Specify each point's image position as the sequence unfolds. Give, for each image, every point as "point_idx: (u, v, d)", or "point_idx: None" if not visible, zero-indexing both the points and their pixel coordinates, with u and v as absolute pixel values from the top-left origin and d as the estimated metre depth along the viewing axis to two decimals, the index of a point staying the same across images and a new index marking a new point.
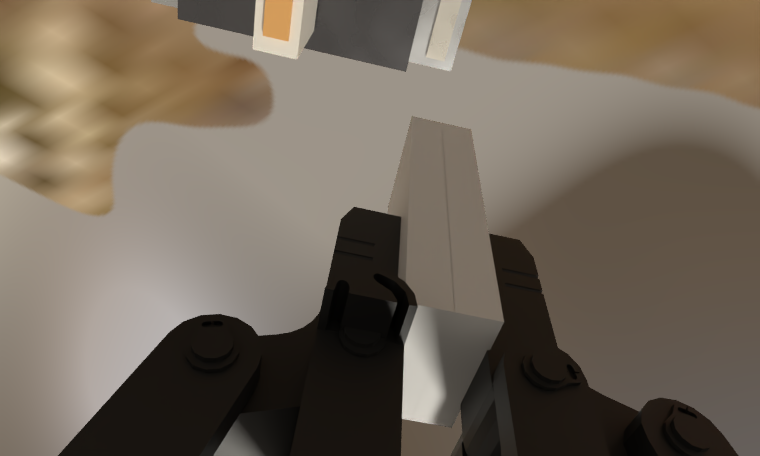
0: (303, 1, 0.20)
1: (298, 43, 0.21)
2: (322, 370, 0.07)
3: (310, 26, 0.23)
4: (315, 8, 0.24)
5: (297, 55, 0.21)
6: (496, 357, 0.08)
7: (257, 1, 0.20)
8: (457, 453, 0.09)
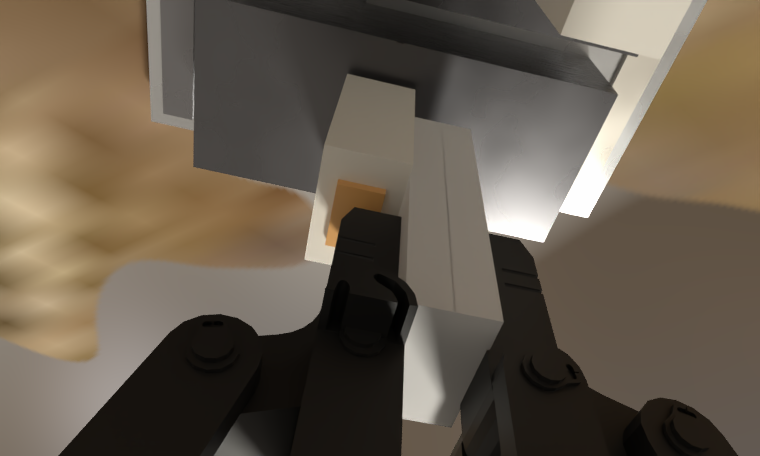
0: (403, 194, 0.11)
1: None
2: (323, 370, 0.07)
3: None
4: None
5: None
6: (496, 357, 0.08)
7: (319, 192, 0.11)
8: (456, 453, 0.09)
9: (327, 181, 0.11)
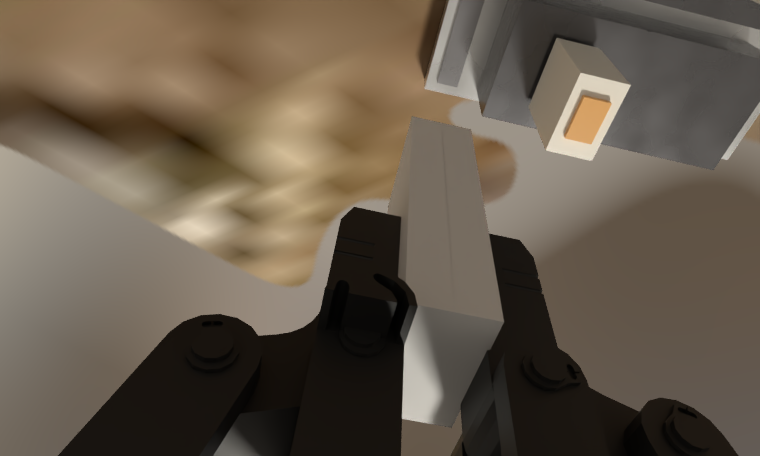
0: (619, 104, 0.19)
1: (598, 145, 0.19)
2: (322, 370, 0.07)
3: None
4: None
5: (592, 156, 0.20)
6: (496, 357, 0.08)
7: (568, 104, 0.19)
8: (457, 453, 0.09)
9: (576, 96, 0.18)
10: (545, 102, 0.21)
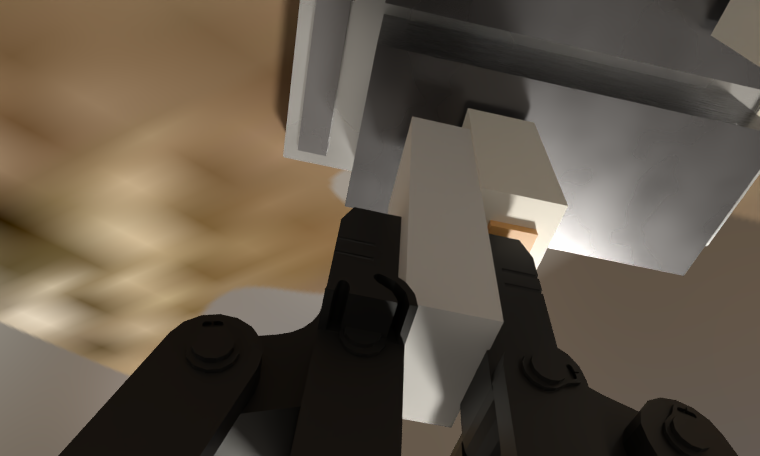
0: (551, 233, 0.11)
1: None
2: (322, 370, 0.07)
3: None
4: None
5: None
6: (496, 357, 0.08)
7: None
8: (457, 453, 0.09)
9: None
10: None
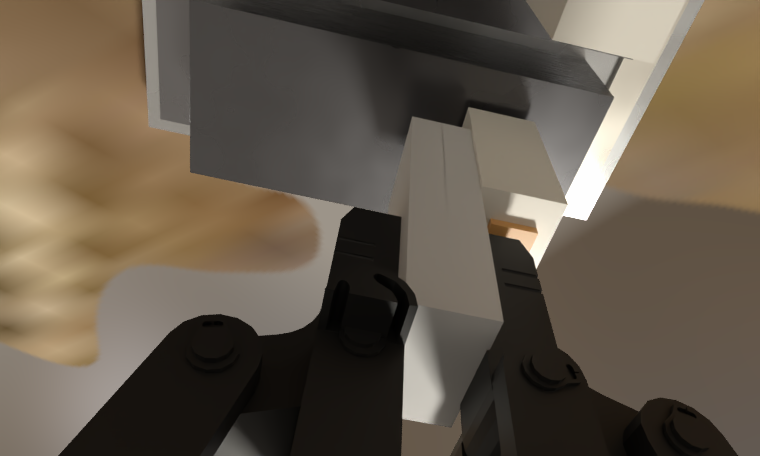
0: (552, 232, 0.11)
1: None
2: (322, 370, 0.07)
3: None
4: None
5: None
6: (496, 357, 0.08)
7: None
8: (457, 453, 0.09)
9: None
10: None
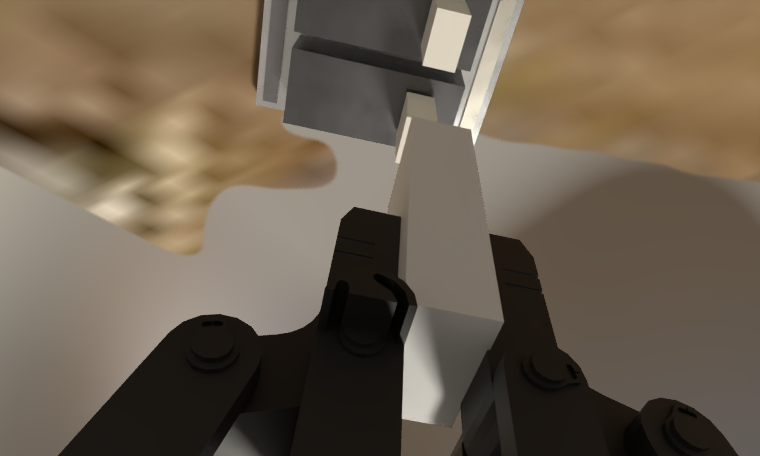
0: None
1: None
2: (322, 370, 0.07)
3: None
4: None
5: None
6: (496, 357, 0.08)
7: (403, 134, 0.31)
8: (457, 453, 0.09)
9: (406, 130, 0.31)
10: (399, 132, 0.33)
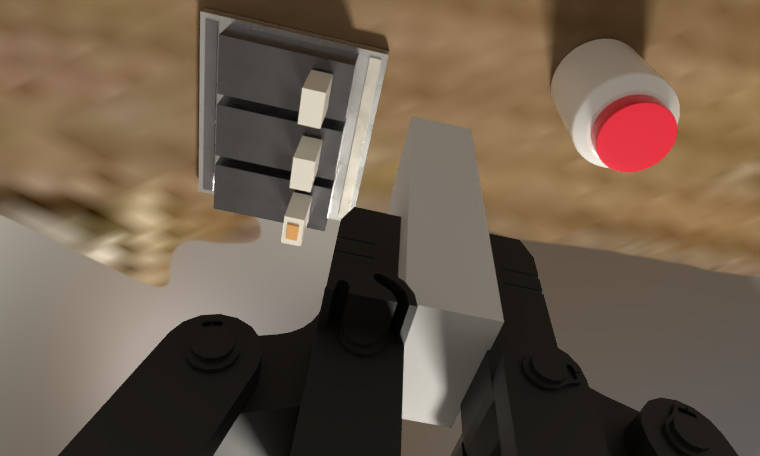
0: (303, 226, 0.47)
1: (301, 240, 0.48)
2: (322, 370, 0.07)
3: (306, 224, 0.50)
4: (308, 214, 0.51)
5: (300, 244, 0.49)
6: (496, 357, 0.08)
7: (283, 226, 0.47)
8: (457, 453, 0.09)
9: (285, 223, 0.47)
10: None
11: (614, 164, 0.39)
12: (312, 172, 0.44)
